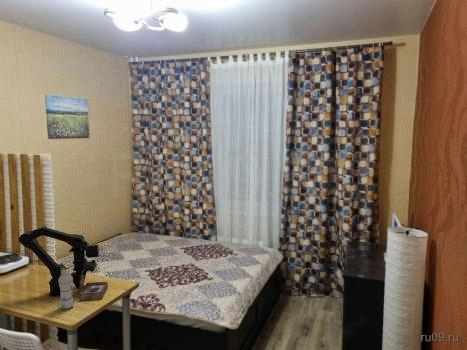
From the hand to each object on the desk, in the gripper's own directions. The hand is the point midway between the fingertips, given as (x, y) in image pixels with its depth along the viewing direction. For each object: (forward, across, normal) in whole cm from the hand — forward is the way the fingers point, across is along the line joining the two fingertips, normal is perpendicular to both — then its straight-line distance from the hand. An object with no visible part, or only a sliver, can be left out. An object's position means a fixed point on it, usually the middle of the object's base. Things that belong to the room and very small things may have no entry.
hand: (80, 285), depth 187 cm
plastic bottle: (+3, -19, +1) cm, 19 cm away
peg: (+3, 0, 0) cm, 3 cm away
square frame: (+3, -6, -8) cm, 11 cm away
